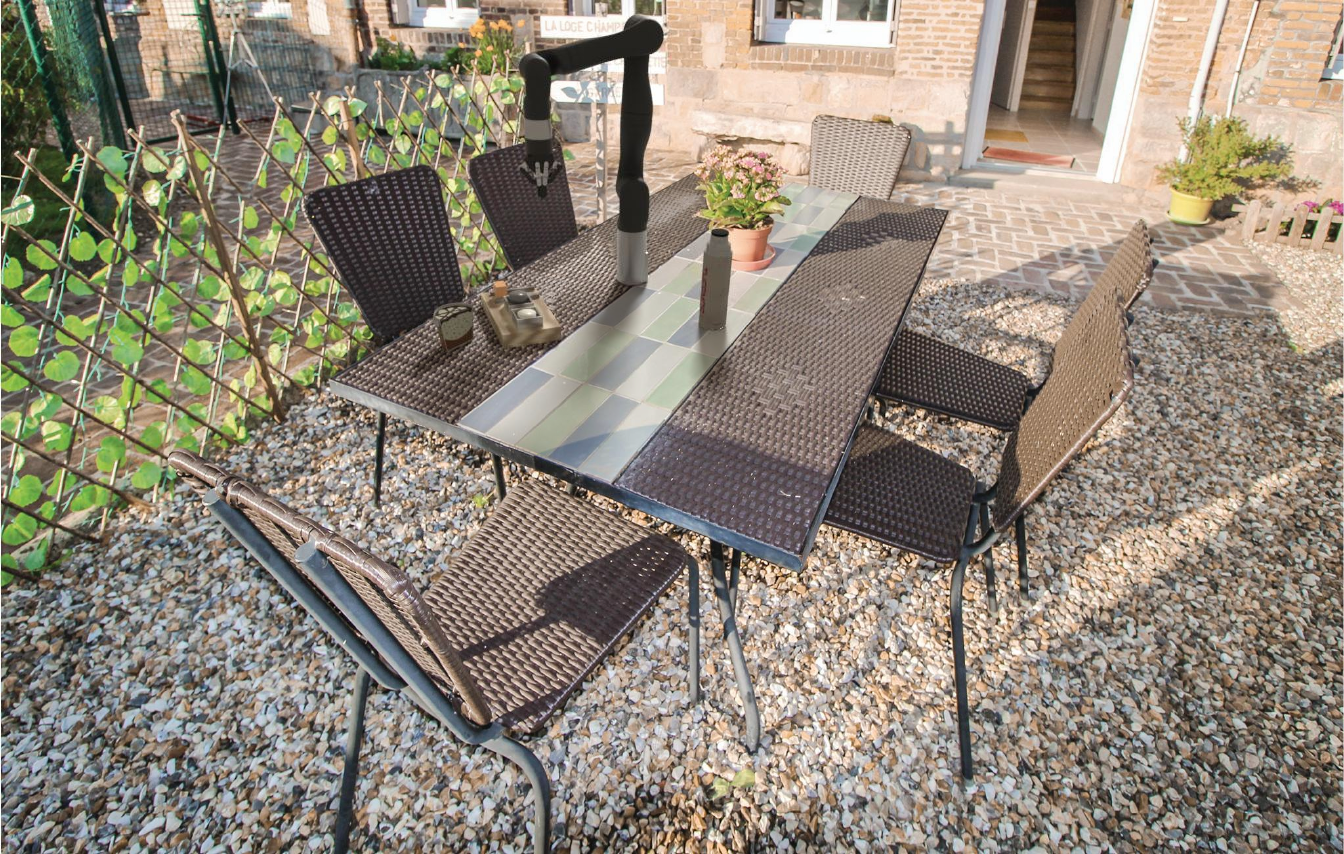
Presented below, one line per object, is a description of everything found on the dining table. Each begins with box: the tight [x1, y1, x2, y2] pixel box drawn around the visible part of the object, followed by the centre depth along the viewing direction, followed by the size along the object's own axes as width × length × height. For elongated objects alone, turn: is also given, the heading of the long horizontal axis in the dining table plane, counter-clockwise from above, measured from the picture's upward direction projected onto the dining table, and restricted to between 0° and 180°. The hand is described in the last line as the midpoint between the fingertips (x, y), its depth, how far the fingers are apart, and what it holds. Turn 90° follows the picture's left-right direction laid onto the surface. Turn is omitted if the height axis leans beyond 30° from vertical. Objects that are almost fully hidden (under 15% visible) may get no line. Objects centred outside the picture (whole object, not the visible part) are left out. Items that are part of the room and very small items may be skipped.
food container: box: [432, 302, 476, 353], centre depth 197 cm, size 12×6×10 cm, turn 145°
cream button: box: [517, 309, 536, 319], centre depth 202 cm, size 5×5×2 cm
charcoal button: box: [509, 290, 528, 304], centre depth 207 cm, size 5×5×2 cm
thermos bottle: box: [698, 227, 734, 330], centre depth 208 cm, size 8×8×28 cm
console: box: [480, 285, 562, 349], centre depth 210 cm, size 16×28×7 cm, turn 24°
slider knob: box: [492, 280, 508, 299], centre depth 214 cm, size 3×4×4 cm
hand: (541, 198), depth 213 cm, fingers closed
